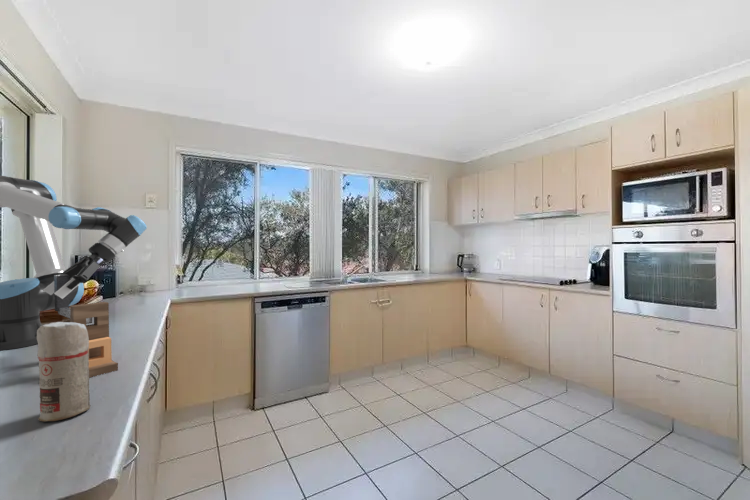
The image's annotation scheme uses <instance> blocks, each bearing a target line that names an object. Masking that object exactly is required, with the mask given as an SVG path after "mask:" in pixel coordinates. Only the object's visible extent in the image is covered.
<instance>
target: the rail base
mask: <svg viewBox="0 0 750 500" xmlns="http://www.w3.org/2000/svg"><path fill="white" fill-rule="evenodd" d="M109 304H110V303H109V302H107V301H100V302H91V303H81V304H74V305H71V306H69V308H70V318H66V319H62V320H61V322H75V323H80V324H84V325H85V327H86V329H87V332H88V337H89V340H94V339H99V338H104V337H110V319H109V318H110V315H109V313H110V312H109V311H110V310H109V309H110V307H109ZM86 318H92V319H93V323H90V324H86ZM98 356H101V346H100V347H96V348H91V349H89V358H93V357H98ZM112 371H113V372H116V371H119V364H118V362H116V361H114V360H112V362H109V363H105V364H101V365H96V366H92V367H89V379H90V378H93V376H94V377H97V375H98V376H101V374H102V375H105V374H109V373H112ZM104 373H105V374H104Z"/></svg>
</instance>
